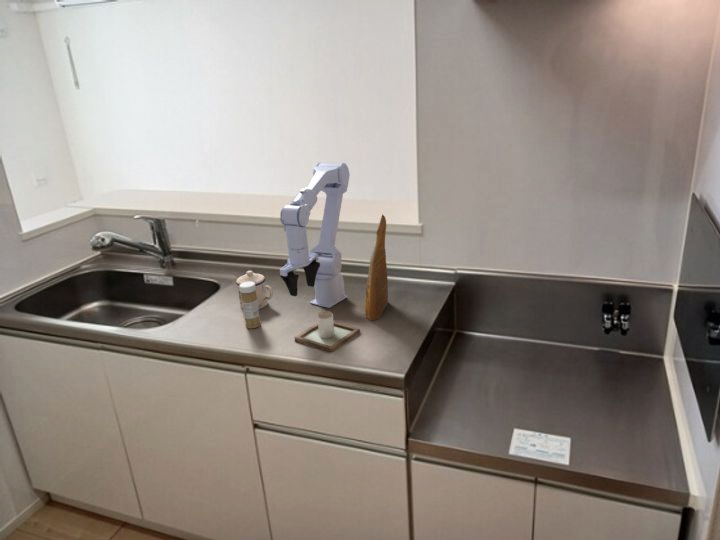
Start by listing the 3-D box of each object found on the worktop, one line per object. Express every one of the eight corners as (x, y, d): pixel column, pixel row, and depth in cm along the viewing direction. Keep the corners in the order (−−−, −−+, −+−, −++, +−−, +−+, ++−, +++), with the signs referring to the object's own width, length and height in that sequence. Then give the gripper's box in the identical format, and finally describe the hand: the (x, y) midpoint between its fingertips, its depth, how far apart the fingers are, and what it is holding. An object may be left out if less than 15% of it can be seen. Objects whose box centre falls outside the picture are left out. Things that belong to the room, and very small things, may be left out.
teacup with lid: (234, 309, 180) (229, 275, 176) (249, 297, 188) (244, 265, 184) (267, 313, 176) (262, 278, 172) (281, 301, 184) (277, 268, 179)
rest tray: (324, 322, 168) (323, 318, 167) (360, 332, 161) (359, 328, 160) (294, 341, 158) (294, 337, 158) (331, 352, 151) (331, 348, 150)
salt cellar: (324, 330, 162) (322, 309, 160) (337, 332, 160) (335, 311, 158) (315, 336, 159) (313, 315, 156) (329, 339, 156) (327, 318, 154)
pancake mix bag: (396, 297, 181) (392, 212, 171) (383, 324, 164) (378, 232, 154) (375, 296, 183) (371, 212, 173) (360, 323, 166) (354, 231, 156)
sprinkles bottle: (256, 320, 172) (250, 279, 167) (263, 325, 168) (258, 283, 163) (242, 325, 169) (236, 284, 164) (250, 330, 166) (243, 288, 161)
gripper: (303, 237, 168) (308, 279, 173) (269, 252, 158) (275, 297, 163) (322, 240, 164) (326, 283, 169) (288, 256, 154) (293, 301, 159)
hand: (302, 290), depth 166 cm, fingers open, 7 cm apart
